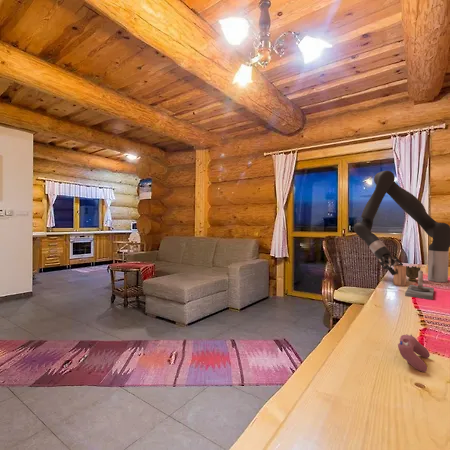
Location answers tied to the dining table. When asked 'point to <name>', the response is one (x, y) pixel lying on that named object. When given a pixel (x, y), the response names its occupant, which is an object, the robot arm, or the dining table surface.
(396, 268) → the copper collar
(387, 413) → the dining table surface
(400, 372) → the dining table surface
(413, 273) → the bronze rounded piece
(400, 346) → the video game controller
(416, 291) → the shaft stand
